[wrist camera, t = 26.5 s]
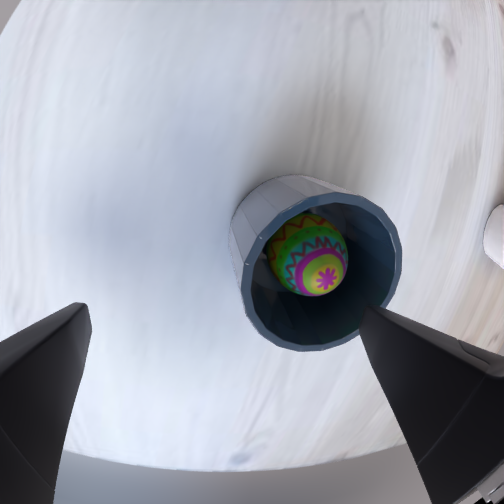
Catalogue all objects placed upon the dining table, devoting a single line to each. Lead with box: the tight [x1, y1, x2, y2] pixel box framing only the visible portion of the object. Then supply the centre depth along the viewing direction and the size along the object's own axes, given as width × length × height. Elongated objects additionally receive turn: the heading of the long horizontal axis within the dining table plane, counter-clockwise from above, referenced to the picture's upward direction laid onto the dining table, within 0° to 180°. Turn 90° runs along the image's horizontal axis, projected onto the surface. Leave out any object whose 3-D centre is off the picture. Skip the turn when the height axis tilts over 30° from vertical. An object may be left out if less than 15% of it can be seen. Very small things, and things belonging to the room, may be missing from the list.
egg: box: [266, 213, 348, 296], centre depth 18 cm, size 5×5×6 cm
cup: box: [229, 175, 402, 352], centre depth 18 cm, size 9×9×7 cm
